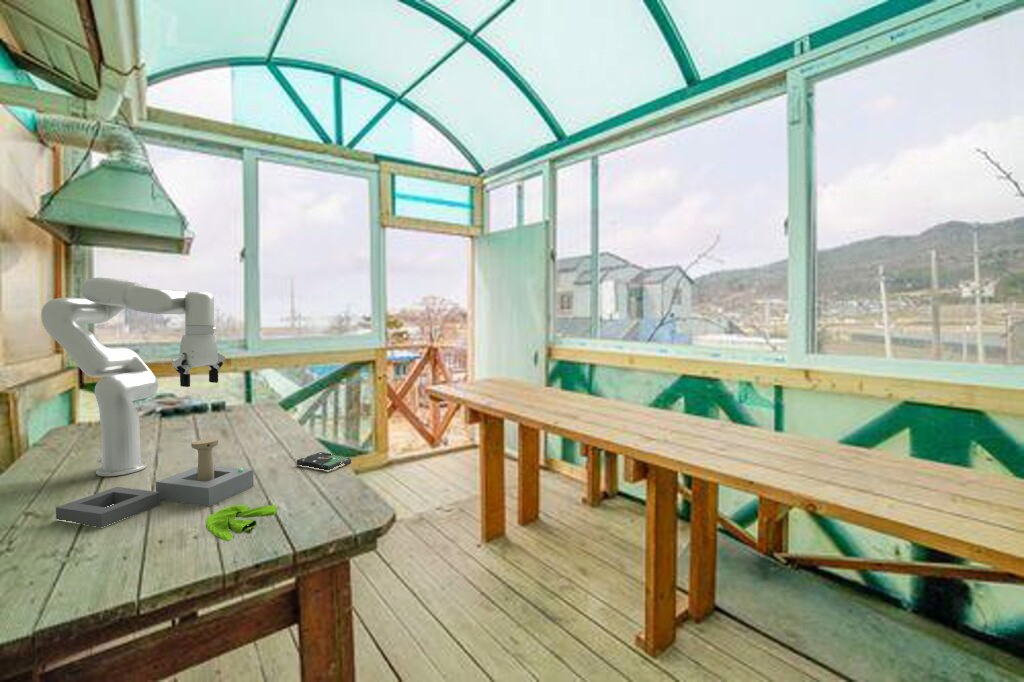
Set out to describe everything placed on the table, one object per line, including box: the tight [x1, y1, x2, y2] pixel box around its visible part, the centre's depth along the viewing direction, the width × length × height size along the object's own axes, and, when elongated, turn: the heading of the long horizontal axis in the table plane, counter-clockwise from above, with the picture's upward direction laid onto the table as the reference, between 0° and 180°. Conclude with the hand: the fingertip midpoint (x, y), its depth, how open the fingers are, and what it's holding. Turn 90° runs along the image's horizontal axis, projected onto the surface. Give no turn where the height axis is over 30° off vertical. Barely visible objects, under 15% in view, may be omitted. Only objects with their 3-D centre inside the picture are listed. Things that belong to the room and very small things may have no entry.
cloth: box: [205, 504, 278, 542], centre depth 113 cm, size 20×22×2 cm
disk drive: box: [296, 451, 352, 470], centre depth 156 cm, size 10×3×15 cm
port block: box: [155, 465, 255, 507], centre depth 131 cm, size 18×15×6 cm
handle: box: [190, 437, 219, 482], centre depth 131 cm, size 5×6×15 cm
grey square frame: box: [55, 486, 161, 528], centre depth 117 cm, size 15×14×4 cm
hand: (199, 384), depth 146 cm, fingers open, 9 cm apart
